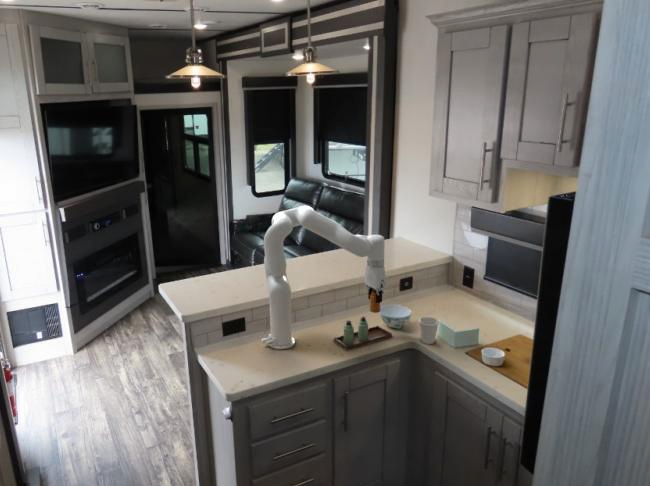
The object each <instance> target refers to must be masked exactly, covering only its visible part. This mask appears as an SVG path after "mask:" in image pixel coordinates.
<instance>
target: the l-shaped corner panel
mask: <svg viewBox="0 0 650 486" xmlns="http://www.w3.org/2000/svg"><path fill="white" fill-rule="evenodd" d="M438 321H439V323H438V337H439V338H440V339H441V340H443V341H444V342H445V343H447V344H448V345H449V346H450V347H452V348H453V349H456V348H462V347H469V346H476V345H479V339H480V338H479V337H480V336H479V335H480V327H474V328H467V329H460V330H455V329H454V328H452V327H451V326H450V325H448V324H446V323H445V322H444V321H443V320H438Z"/></svg>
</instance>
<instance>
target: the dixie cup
mask: <svg viewBox="0 0 650 486" xmlns="http://www.w3.org/2000/svg"><path fill="white" fill-rule="evenodd" d="M418 321H419V331H420V340H421V342H422V343H423V344H426V345H433V344H434V343H435V342H436V336H437V332H438V328H439V321H440V320H438V319H437V318H435V317H431V316H423V317H421V318H419V319H418Z"/></svg>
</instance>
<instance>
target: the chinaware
mask: <svg viewBox="0 0 650 486" xmlns="http://www.w3.org/2000/svg"><path fill="white" fill-rule="evenodd" d="M378 313H379V316H380V319H381V320H382V321H383V322H384V323H385V324H386V325H387V326H388V327H389V328H392V329H397V330H398V329H401V328H403V326H404V325H406V324H407V323H408V322H409V320H410V319H411V316H412V310H411V309H410V308H409V307H406V306H404V305H399V304H388V305H383V306H380V312H378Z"/></svg>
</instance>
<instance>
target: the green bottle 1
mask: <svg viewBox="0 0 650 486" xmlns="http://www.w3.org/2000/svg"><path fill="white" fill-rule="evenodd" d="M342 329H343V331H342V332H343V334H342V335H343V342H344V344H346V345H352V344H354V332H355V327H354V326H353V324H352V321H351V320H346V322H345V324H344V326H343V327H342Z"/></svg>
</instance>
